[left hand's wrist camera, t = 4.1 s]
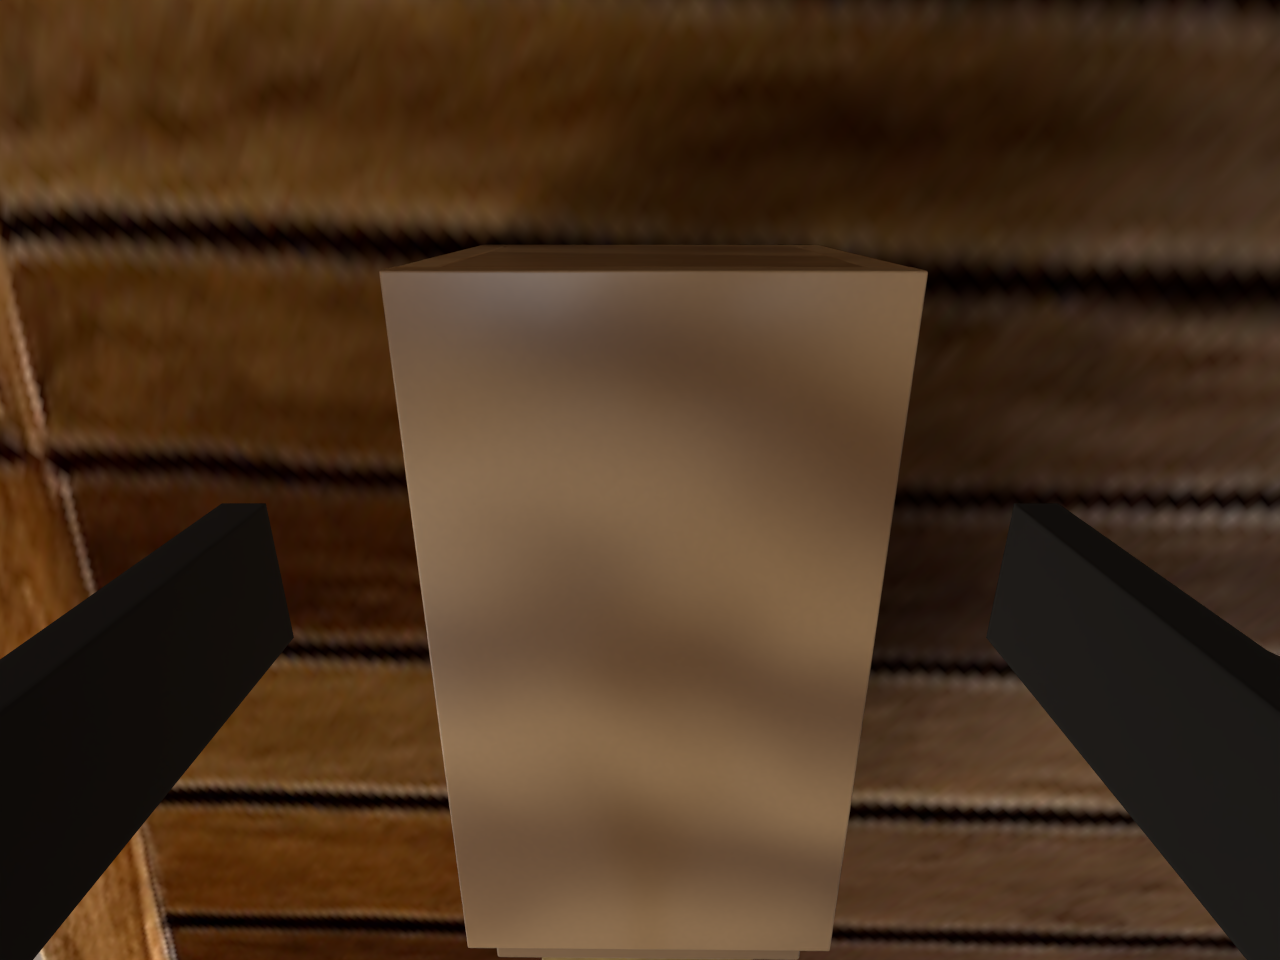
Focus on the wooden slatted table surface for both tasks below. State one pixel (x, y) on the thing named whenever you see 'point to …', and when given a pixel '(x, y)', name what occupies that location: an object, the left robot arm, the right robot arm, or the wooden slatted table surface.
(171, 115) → the wooden slatted table surface
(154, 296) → the wooden slatted table surface
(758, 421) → the cabinet
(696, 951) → the drawer
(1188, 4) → the wooden slatted table surface
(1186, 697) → the left robot arm
